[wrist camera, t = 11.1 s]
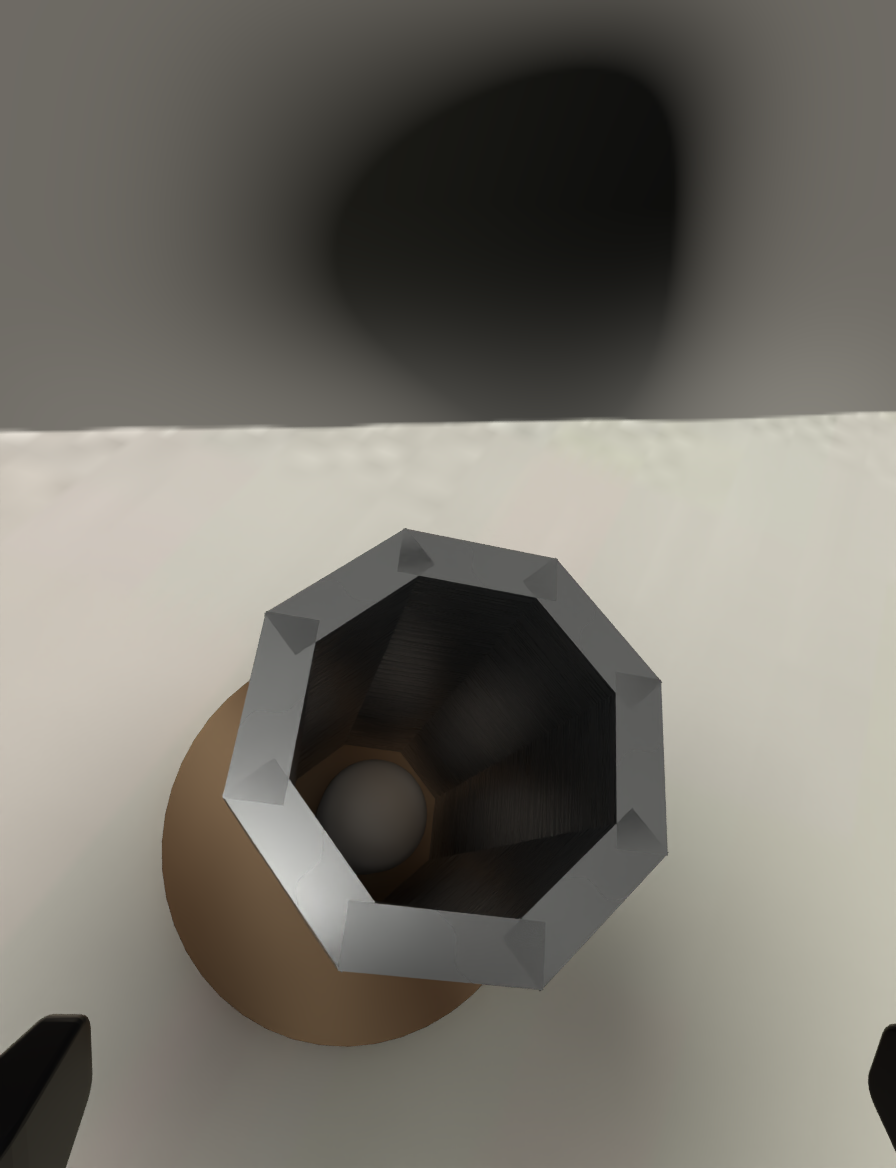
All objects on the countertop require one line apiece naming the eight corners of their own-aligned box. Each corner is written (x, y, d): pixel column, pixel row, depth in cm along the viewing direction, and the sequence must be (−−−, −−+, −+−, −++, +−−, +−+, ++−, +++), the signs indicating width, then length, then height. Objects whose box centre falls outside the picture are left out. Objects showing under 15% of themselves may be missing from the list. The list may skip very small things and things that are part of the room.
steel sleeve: (445, 936, 19) (674, 1002, 8) (243, 915, 18) (183, 958, 7) (463, 738, 22) (658, 578, 10) (285, 711, 21) (289, 504, 10)
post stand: (296, 1142, 17) (302, 1227, 13) (97, 777, 20) (45, 746, 15) (596, 869, 22) (675, 864, 17) (404, 598, 24) (431, 534, 20)
